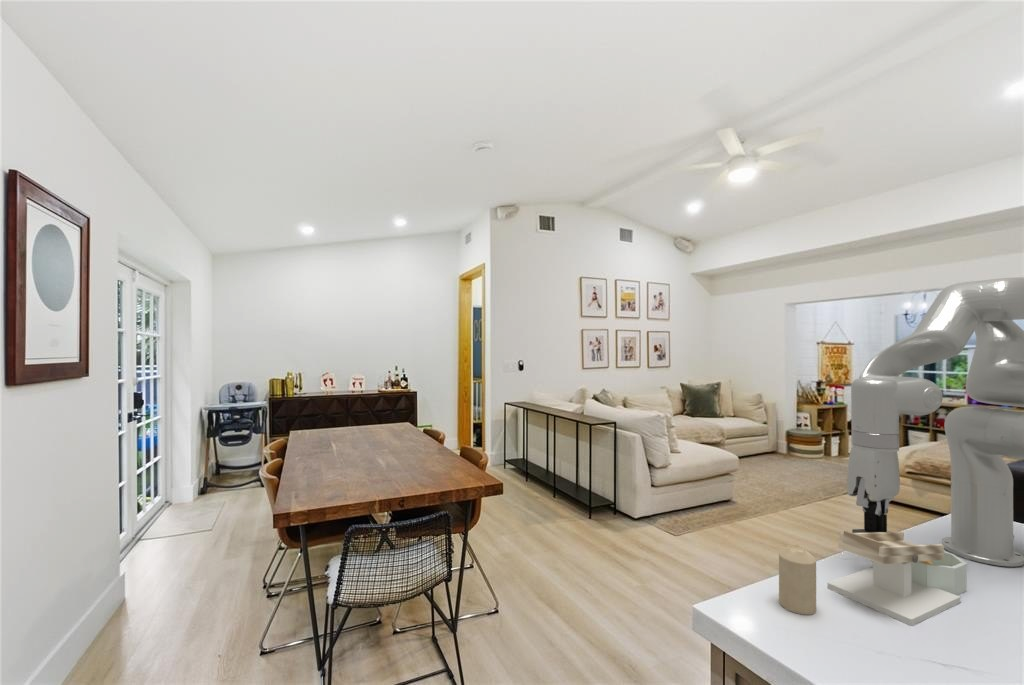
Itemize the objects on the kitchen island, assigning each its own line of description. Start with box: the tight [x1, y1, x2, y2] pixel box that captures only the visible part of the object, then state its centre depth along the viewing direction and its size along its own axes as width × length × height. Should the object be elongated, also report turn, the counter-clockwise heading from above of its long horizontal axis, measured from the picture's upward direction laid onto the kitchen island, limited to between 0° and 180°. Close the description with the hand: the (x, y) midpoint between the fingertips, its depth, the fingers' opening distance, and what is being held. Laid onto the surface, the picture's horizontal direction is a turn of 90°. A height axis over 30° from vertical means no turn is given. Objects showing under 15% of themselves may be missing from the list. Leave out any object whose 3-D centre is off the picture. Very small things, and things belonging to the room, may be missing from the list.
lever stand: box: [826, 561, 961, 626], centre depth 84 cm, size 16×13×7 cm
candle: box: [778, 544, 817, 616], centre depth 81 cm, size 6×6×10 cm
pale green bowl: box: [911, 550, 968, 596], centre depth 90 cm, size 10×10×5 cm
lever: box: [838, 528, 945, 564], centre depth 87 cm, size 20×13×3 cm, turn 115°
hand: (875, 532), depth 93 cm, fingers closed
